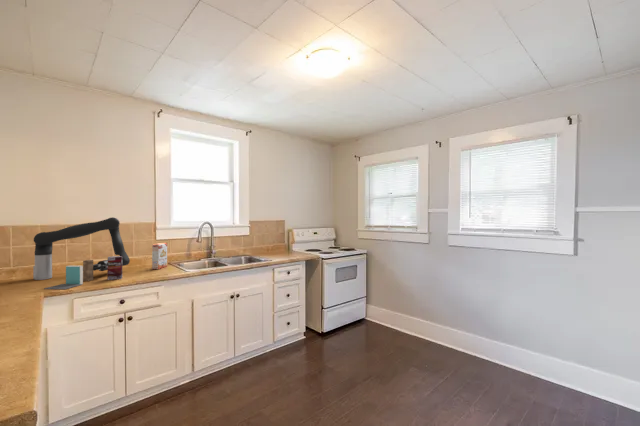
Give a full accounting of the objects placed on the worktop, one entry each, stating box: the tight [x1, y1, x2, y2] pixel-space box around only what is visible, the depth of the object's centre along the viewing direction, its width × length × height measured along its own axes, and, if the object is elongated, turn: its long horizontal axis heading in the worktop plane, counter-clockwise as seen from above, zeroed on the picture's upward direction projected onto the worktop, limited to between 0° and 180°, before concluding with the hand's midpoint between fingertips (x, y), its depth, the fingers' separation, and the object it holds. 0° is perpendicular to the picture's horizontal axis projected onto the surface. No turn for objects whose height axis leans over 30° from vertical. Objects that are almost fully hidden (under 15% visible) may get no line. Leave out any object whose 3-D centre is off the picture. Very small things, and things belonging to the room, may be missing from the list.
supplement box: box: [106, 255, 123, 281], centre depth 215 cm, size 9×5×16 cm, turn 117°
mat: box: [44, 283, 83, 290], centre depth 192 cm, size 14×12×1 cm
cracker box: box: [151, 242, 168, 270], centre depth 257 cm, size 14×6×21 cm, turn 179°
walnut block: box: [82, 259, 94, 282], centre depth 210 cm, size 4×4×14 cm
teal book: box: [65, 265, 84, 285], centre depth 199 cm, size 10×2×12 cm, turn 85°
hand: (87, 269), depth 210 cm, fingers open, 8 cm apart
